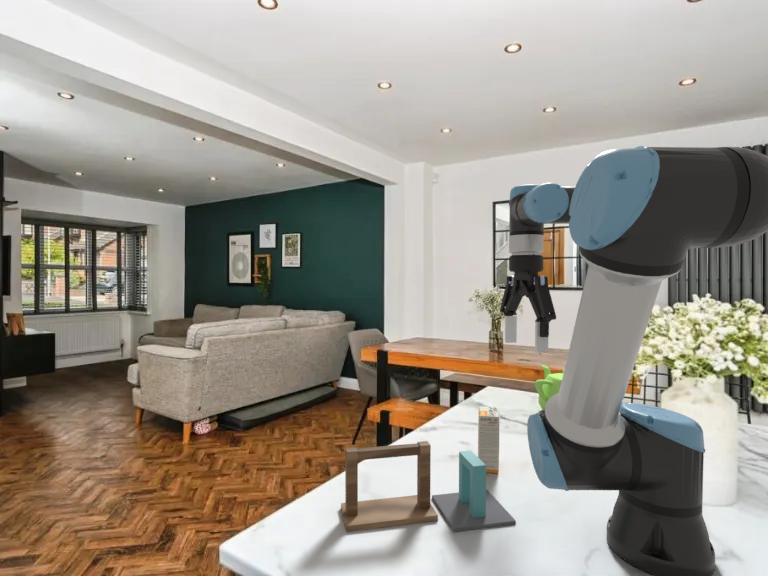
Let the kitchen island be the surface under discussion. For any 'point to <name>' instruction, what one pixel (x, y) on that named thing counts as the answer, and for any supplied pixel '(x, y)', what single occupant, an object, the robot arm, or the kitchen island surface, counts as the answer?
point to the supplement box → (489, 438)
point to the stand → (387, 509)
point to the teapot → (548, 386)
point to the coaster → (461, 516)
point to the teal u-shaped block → (472, 483)
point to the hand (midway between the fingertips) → (525, 347)
